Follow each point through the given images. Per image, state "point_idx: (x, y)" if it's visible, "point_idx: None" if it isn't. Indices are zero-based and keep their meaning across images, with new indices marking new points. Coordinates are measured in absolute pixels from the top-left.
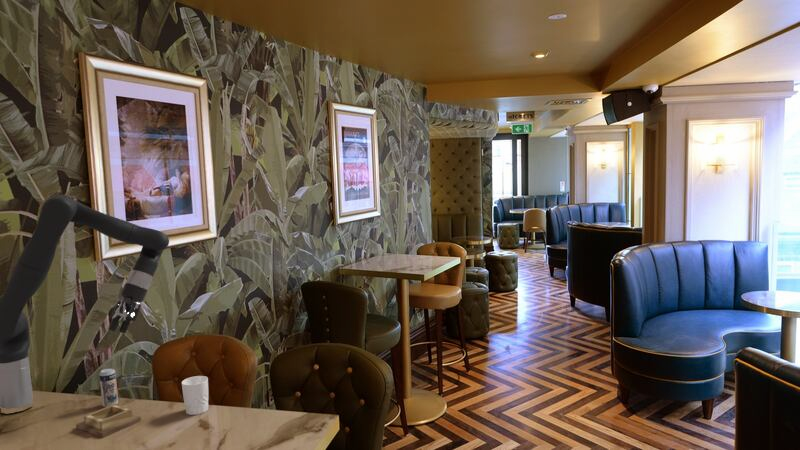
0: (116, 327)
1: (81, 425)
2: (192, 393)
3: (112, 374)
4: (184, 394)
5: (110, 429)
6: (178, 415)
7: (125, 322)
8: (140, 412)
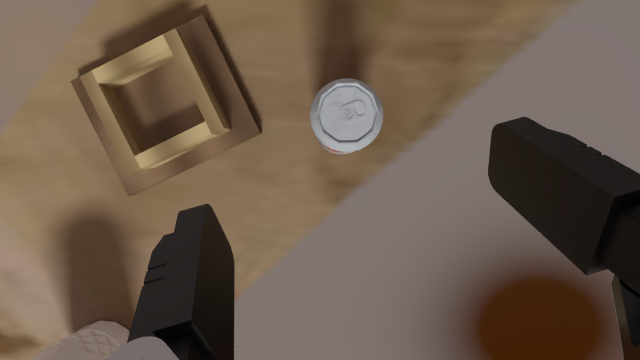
0: (519, 210)
1: (180, 28)
2: None
3: (317, 135)
4: (42, 352)
5: (89, 104)
6: (105, 296)
7: (133, 337)
8: None
